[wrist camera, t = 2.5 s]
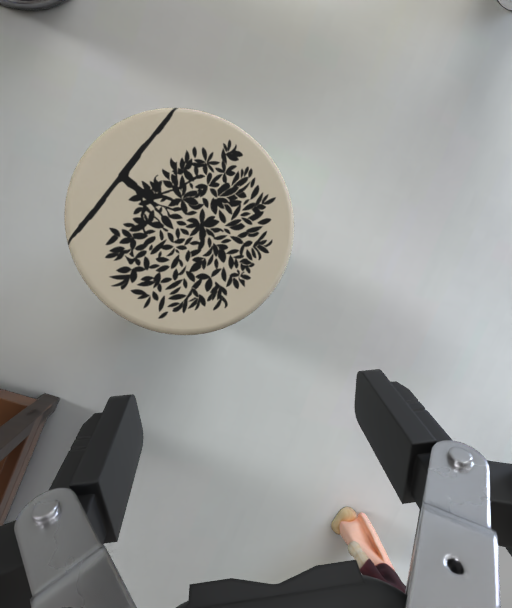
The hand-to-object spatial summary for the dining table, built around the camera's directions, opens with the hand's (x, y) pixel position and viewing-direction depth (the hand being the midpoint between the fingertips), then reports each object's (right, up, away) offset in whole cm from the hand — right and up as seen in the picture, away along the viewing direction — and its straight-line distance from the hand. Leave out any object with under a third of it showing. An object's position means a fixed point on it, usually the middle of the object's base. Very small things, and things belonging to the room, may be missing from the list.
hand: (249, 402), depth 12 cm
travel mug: (-6, +7, +17) cm, 19 cm away
